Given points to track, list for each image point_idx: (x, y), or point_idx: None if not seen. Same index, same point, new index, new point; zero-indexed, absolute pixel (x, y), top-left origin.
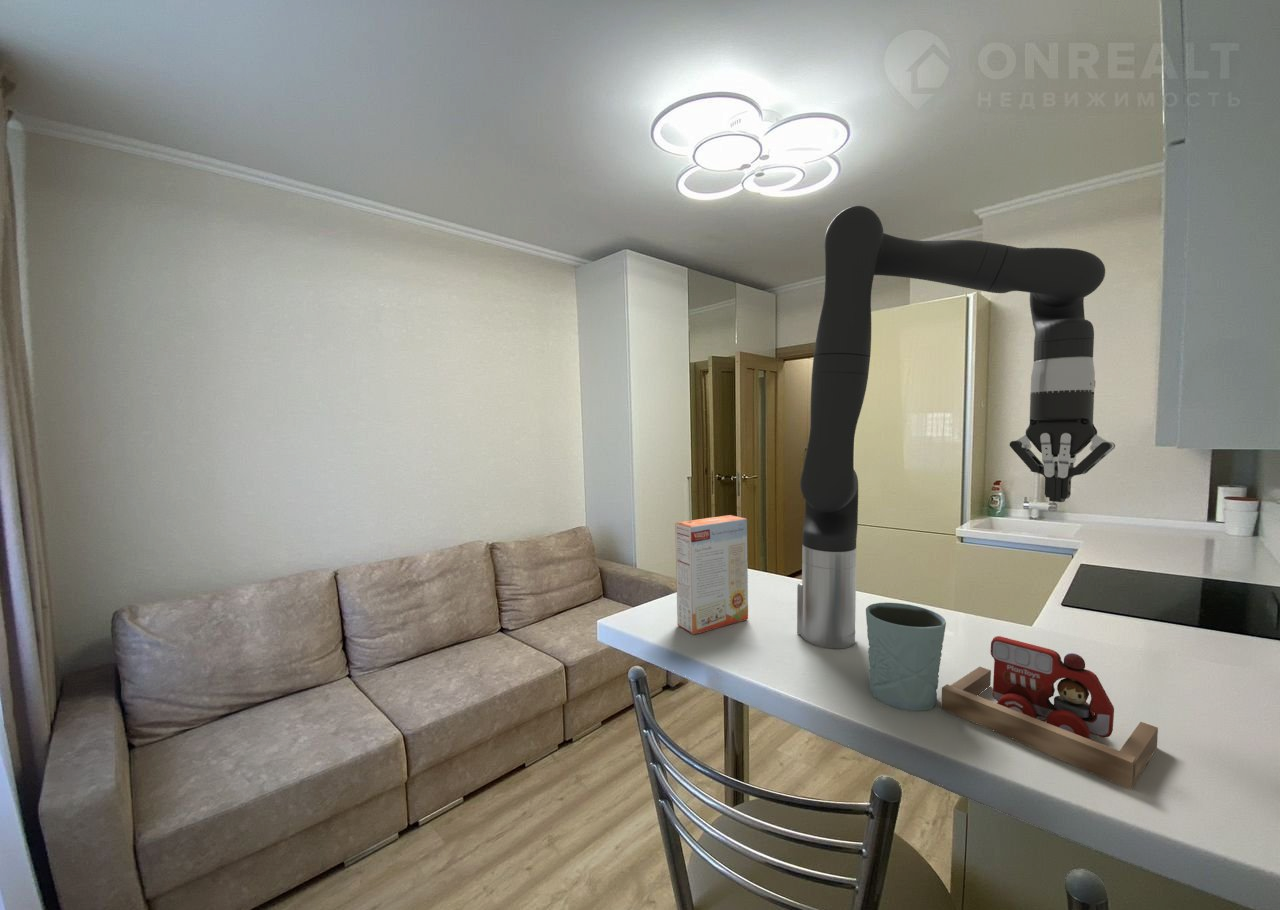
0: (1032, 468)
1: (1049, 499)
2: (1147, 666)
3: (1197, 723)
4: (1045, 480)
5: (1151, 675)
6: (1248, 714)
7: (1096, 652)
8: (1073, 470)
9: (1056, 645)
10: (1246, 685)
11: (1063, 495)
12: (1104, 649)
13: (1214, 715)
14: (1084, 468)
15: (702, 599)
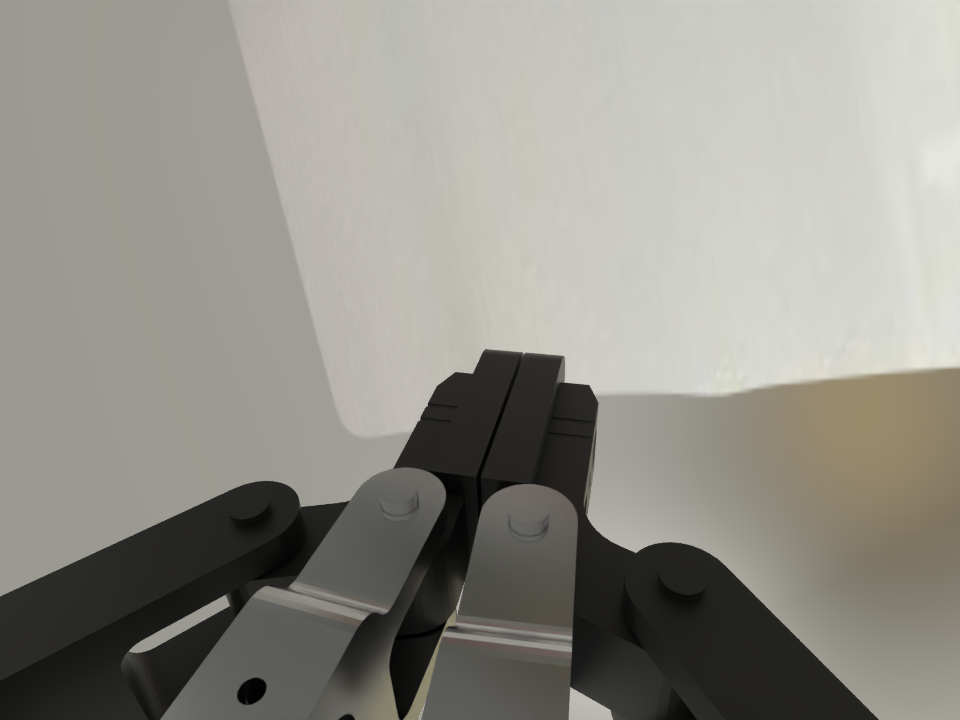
0: (714, 589)
1: (561, 357)
2: (473, 325)
3: (336, 68)
4: (582, 489)
5: (455, 276)
6: (306, 208)
7: (564, 332)
8: (284, 518)
9: (643, 310)
10: (347, 356)
11: (462, 386)
12: None
13: (333, 147)
14: (180, 529)
15: None
